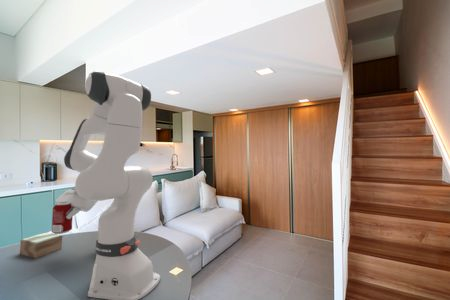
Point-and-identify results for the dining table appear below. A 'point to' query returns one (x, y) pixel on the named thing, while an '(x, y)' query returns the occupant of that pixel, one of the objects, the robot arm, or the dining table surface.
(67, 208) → the soda can
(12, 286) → the dining table surface
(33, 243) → the walnut pedestal
